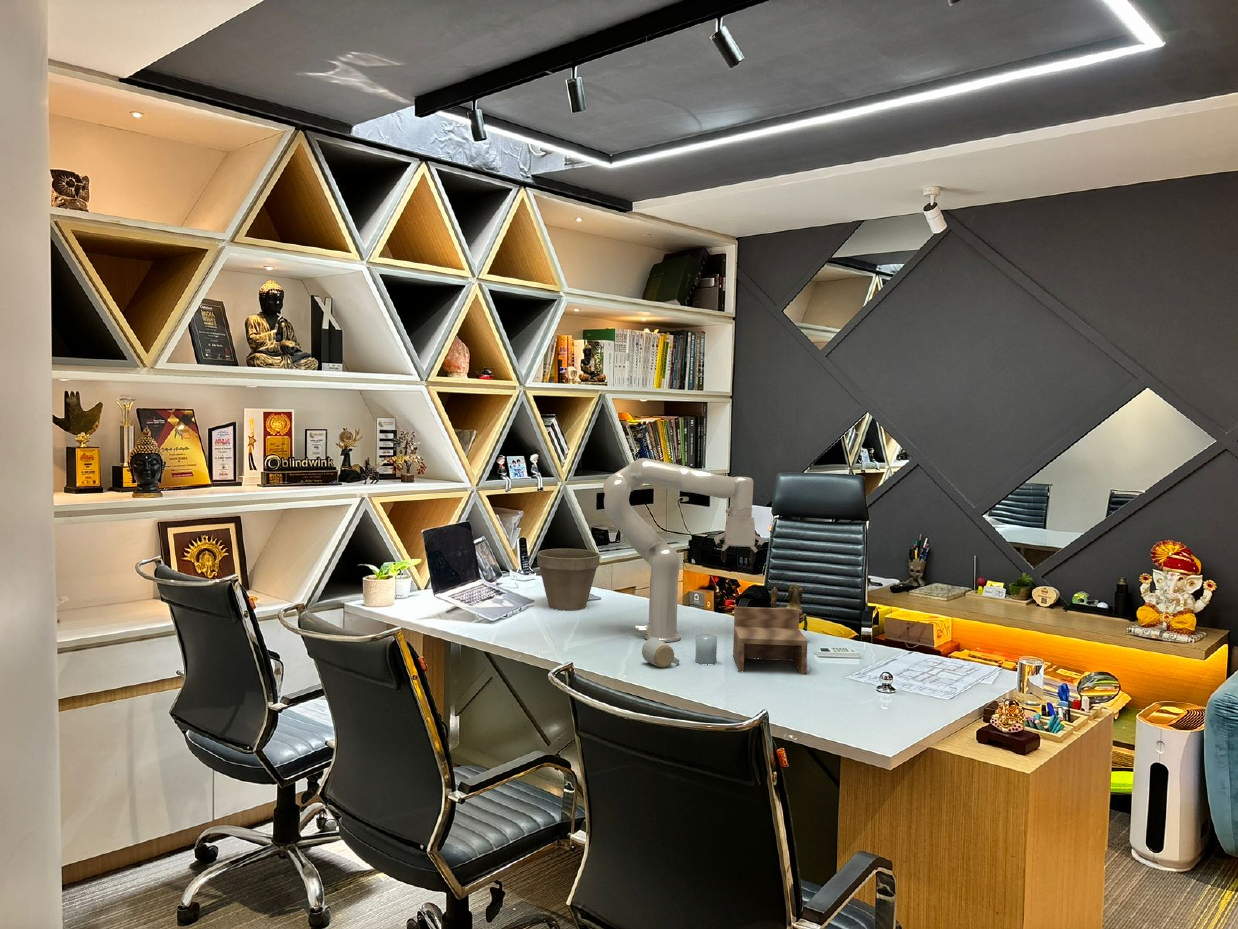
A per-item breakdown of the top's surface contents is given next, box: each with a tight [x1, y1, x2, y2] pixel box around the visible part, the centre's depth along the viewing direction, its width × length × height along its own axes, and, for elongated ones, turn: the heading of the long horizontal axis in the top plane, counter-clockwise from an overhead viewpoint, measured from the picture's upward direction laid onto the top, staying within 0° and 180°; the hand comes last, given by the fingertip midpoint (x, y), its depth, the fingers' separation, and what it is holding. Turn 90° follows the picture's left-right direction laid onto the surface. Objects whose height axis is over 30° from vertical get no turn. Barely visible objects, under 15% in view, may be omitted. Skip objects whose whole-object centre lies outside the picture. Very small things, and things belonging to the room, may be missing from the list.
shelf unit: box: [732, 606, 808, 675], centre depth 276 cm, size 20×17×16 cm
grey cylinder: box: [694, 633, 718, 666], centre depth 278 cm, size 6×6×8 cm
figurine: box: [770, 583, 808, 632], centre depth 305 cm, size 13×25×20 cm, turn 134°
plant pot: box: [536, 548, 601, 612], centre depth 358 cm, size 25×25×22 cm
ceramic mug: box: [641, 638, 680, 669], centre depth 274 cm, size 11×8×8 cm
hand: (737, 562), depth 311 cm, fingers open, 9 cm apart
